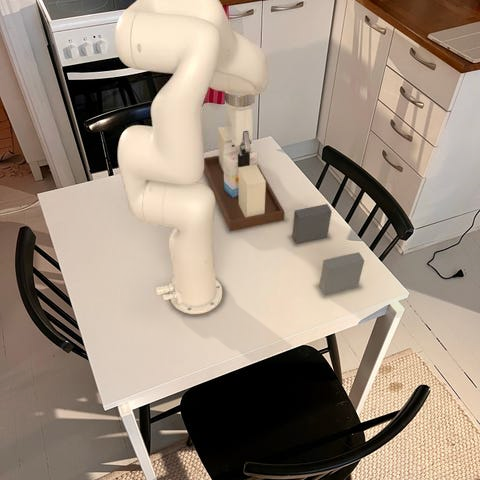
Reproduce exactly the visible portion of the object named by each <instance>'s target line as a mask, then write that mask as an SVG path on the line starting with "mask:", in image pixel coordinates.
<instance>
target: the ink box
mask: <svg viewBox="0 0 480 480" xmlns="http://www.w3.org/2000/svg"><path fill="white" fill-rule="evenodd" d="M242 142H244V140H243V141H242ZM242 142H241V143H242ZM232 145H234V144H233V142H232V141H231V142H228V143H226V144H224V149H223V150H224V154H223V166H224V190H225V191H226V192H227V193H228V194H230V195H231V196H232V197H236V196H238V195H239V177H238V154H239V148H238V146H234V147H232ZM241 148H242V149H244V148H245V145H243V146H241ZM258 155H259V154H258V152H256V151H255V149H253V148H252V147H251V151H250V165H255V164H256V165H257V164H258Z"/></svg>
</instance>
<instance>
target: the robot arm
mask: <svg viewBox="0 0 480 480" xmlns="http://www.w3.org/2000/svg"><path fill="white" fill-rule="evenodd" d="M113 42H114V48H115V52H116V54H117V56H118V58H119V60H120V61H121V62H122V63H123V64H124V65H125V66H127V68H130V69H134V70H138V71H146V72H155V73H164V74H172V76H171V77H170V78H169V80H167V82H166V83H165V84H164V85H163V86H162V87H161V89H160V90H159V91H158V93H157V94H156V96H155V97H154V98H153V101H152V103H151V106H150V116H151V126H150V125H142V124H141V125H140V124H136V125H135V124H134V125H131V126H129V127H126V129H124V131H123V132H122V133H121V135H120V138H119V141H118V145H117V164H118V169H119V174H120V178H121V182H122V186H123V190H124V195H125V198H126V202H127V206H128V209H129V212H130V215H132V216H133V218H134V219H136V220H138V221H140V222H142V223H143V222H144V223H148V224H153V225H160V226H165V227H169V228H173V230H172V232H171V233H170V236H169V239H168V247H169V254H170V260H171V266H172V274H173V277H172V278H171V282H170V283H168V284H167V285H164V286H163V285H160V286H156V287H155V292H156V295H157V296H161V295H162V298H163V302H164V301H165V302H166V301H169V300H170V301H171V303H172V305H173V306H174V307H175V308H176V309H177V310H179V311H180V312H182V313H185V314H189V315H201V314H205V313H208V312H211V311H212V310H214V309H215V308H216V307H218V306H219V304H220V303H221V301H222V299H223V287H222V285H221V283H220V282H219V280H218V279H216V269H215V268H216V267H215V252H214V235H213V233H214V232H213V231H214V217H215V213H216V212H215V211H216V198H215V196H214V193H213V191H212V189H211V187H209V186H208V185H206V184H204V183H203V182H202V183H201V182H199V181H200V180H201V179H202V177H203V175H204V158H205V149H204V148H205V147H204V137H203V124H202V110H203V106H204V105H203V104H204V101H205V99H206V96H207V93H208V91H209V89H211V90H214V91H218V92H224V103H225V126H226V131H227V133H228V135H229V137H230V139H231V141H232V142H233V144H234V145H232V147H234V146H238V148H239V154H238V167H244V166H249V165H250V151H251V148H252V147H251V144H252V143H253V140H254V122H253V121H254V119H253V118H254V117H253V106H254V105H255V104H256V96H259V95H262V94H263V93H264V92H265V91H266V89H267V87H268V84H269V80H270V68H269V63H268V60H267V56H266V54H265V52H264V50H263V49H262V47H260V46H259V45H258V44H256V42H253V41H252V40H251V39H249V38H247V37H245V36H244V35H242V34H241V33H238V32H237V31H235V30H234V29H233V27H232V25H231V23H230V20H229V18H228V16H227V13H226V11H225V9H224V7H223V4H222V3H221V1H220V0H135V1H134V2H132V4H130V6H128V8H126V9H125V10H124V11H123V12H122V13H121V15H120V16H119V18H118V20H117V23H116V24H115V28H114V41H113ZM243 140H244V142H242V141H243ZM241 142H242V143H241ZM243 145H245V148H244V149H242V148H241V146H243Z"/></svg>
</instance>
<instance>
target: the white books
mask: <svg viewBox="0 0 480 480" xmlns="http://www.w3.org/2000/svg"><path fill="white" fill-rule="evenodd" d="M217 141H218V142H217V143H218V156H219V164H220V166H221V168H222V170H223V172H224V166H223V154H224V150H223V149H224V144H226V143H228V142H231V139H230V137H229V135H228V133H227V131H226V125H224V126H219V127H217ZM259 168H260V167H259ZM259 168H258V167H257V165H256V164H255V165H249V166H244V167H238V177H239V206H240V208H241V210H242V212H243V214H244V216H245V218H246V217H251V216H256V215H261V214H264V212H265V189H266V181H265V179H264V177H263V175H264V174H263V175H262V174H261V172H260V170H259Z"/></svg>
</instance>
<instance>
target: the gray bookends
mask: <svg viewBox="0 0 480 480" xmlns="http://www.w3.org/2000/svg"><path fill="white" fill-rule="evenodd" d="M331 217H332V209H331V207H330V206H329V204H328V203H325V204H320V205H315V206H310V207H309V206H308V207H304V208H300V209H294V213H293V221H292V222H293V223H292V232H291V233H292V234H291V238H292V239H293V241H294V243H295V245H299V244H303V243H308V242H313V241H318V240H321V239H322V240H323V239H326V238H328V236H329V235H328V234H329V230H330V223H331ZM364 264H365V259H364V257H363V256H362V254H361V253H360V251H358V252H354V253H349V254H344V255H339V256H336V257H331V258H326V259H323V263H322V267H321V268H322V269H321V273H320V278H319V285H318V287H319V289H320V291H321V293H322V294H323V295H324V296H326V295H330V294H335V293H338V292H339V293H340V292H342V291H347V290H351V289H356V288H358V287H359V285H360V281H361V280H360V279H361V276H362V272H363V268H364Z"/></svg>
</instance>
